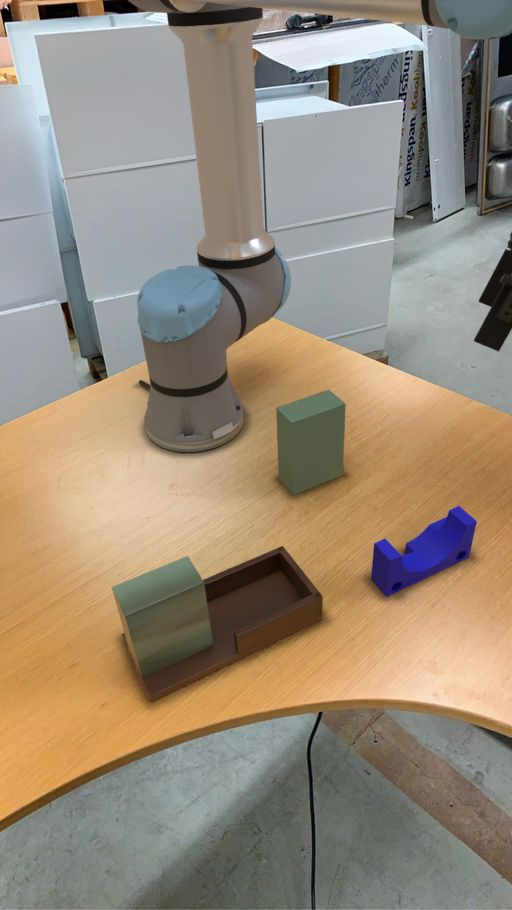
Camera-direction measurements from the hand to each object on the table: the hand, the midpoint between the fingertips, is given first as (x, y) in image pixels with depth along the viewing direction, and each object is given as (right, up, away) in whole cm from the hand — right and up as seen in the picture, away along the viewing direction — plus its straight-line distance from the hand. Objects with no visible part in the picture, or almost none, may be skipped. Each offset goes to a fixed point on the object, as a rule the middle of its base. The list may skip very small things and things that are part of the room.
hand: (487, 324), depth 73 cm
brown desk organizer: (-29, -34, -2) cm, 45 cm away
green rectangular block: (-18, -18, +18) cm, 31 cm away
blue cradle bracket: (-7, -28, +5) cm, 29 cm away
